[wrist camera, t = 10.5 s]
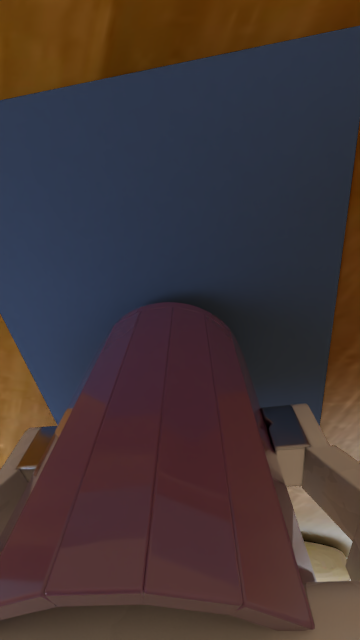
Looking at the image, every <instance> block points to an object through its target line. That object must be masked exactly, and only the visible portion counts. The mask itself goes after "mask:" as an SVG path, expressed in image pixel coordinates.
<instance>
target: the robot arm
mask: <svg viewBox="0 0 360 640" xmlns="http://www.w3.org/2000/svg"><path fill="white" fill-rule="evenodd" d="M261 411H262V415H263V418H264V421H265V423H266V426H267V429H268V433H269V436H270V439H271V442H272V445H273V449H274V452H275V454H276V457H277V460H278V463H279V466H280V469H281V472H282V475H283V479H284V482H285V485H286V486H302V488H303V489H304V490H305V491H306V492H307V493H308V494H309V495H310V496H311V497H312V499H313V500H314V501H315V502H316V503H317V504H318V505H319V506H320V507H321V508H322V509H323V510H324V511H325V512H326V513H327V514H328V516H329V517H330V518H331V519H332V520H333V521H334V522H335V523H336V524H337V525H338V526H339V527H340V528H341V529H342V530H343V532H344V533H345V534H346V535H347V536H348V537H349V538H350V539H351V540H352V541H353V543H352V546H351V549H350V553H349V556H348V559H347V562H346V569H347V571H348V574H349V576H350V579H351V581H329V582H307V583H306V589H307V595H308V600H309V604H310V608H311V611H312V615H313V619H314V623H315V629H313V630H310V629H309V630H306V631H276V630H273V629H270V628H267V627H264V626H261V625H258V624H255V623H252V622H249V621H246V620H243V619H239V618H236V617H233V616H230V615H224V614H216V613H208V612H200V611H192V610H184V609H176V608H168V607H160V606H152V605H144V604H140V605H103V606H67V607H55V608H50V609H46V610H42V611H37V612H33V613H29V614H24V615H20V616H16V617H11V618H7V619H3V620H0V640H360V463H359V462H358V461H357V460H355V459H354V458H352V457H351V456H350V455H348V454H347V453H345V452H344V451H342V450H341V449H340V448H338V447H337V446H330V444H329V442H328V441H327V439H326V437H325V435H324V433H323V431H322V430H321V428H320V426H319V424H318V422H317V420H316V419H315V417H314V415H313V413H312V411H311V410H310V408H309V406H308V405H307V404H306V403H304V404H294V405H282V406H273V407H263V408H261ZM57 427H58V426H50V427H37V428H29V429H28V430H27V431H25V433H24V434H23V436H22V437H21V439H20V440H19V442H18V443H17V445H16V447H15V448H14V450H13V451H12V453H11V454H10V456H9V457H8V459H7V460H6V462H5V464H4V465H3V467H2V468H1V470H0V536H1V534H2V532H3V530H4V528H5V526H6V524H7V522H8V520H9V519H10V517H11V515H12V513H13V511H14V509H15V507H16V505H17V503H18V501H19V499H20V497H21V496H22V494H23V492H24V490H25V488H26V486H27V484H28V482H29V480H30V478H31V476H32V475H33V473H34V471H35V469H36V467H37V465H38V463H39V461H40V459H41V457H42V455H43V453H44V452H45V450H46V448H47V446H48V444H49V442H50V440H51V438H52V436H53V434H54V432H55V430H56V429H57Z"/></svg>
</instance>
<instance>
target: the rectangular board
mask: <svg viewBox="0 0 360 640" xmlns="http://www.w3.org/2000/svg"><path fill="white" fill-rule="evenodd" d="M359 122H360V26H355V27H351V28H346V29H341V30H336V31H331V32H327V33H322V34H317V35H312V36H307V37H303V38H298V39H293V40H288V41H283V42H279V43H274V44H269V45H264V46H259V47H255V48H250V49H245V50H240V51H235V52H231V53H226V54H221V55H216V56H211V57H207V58H202V59H197V60H192V61H187V62H183V63H178V64H173V65H168V66H163V67H159V68H154V69H149V70H144V71H139V72H135V73H130V74H125V75H120V76H115V77H111V78H106V79H101V80H96V81H91V82H87V83H82V84H77V85H72V86H67V87H63V88H58V89H53V90H48V91H43V92H39V93H34V94H29V95H24V96H19V97H15V98H10V99H5V100H0V314H1V316H2V318H3V320H4V322H5V323H6V325H7V327H8V329H9V331H10V333H11V335H12V337H13V339H14V341H15V343H16V345H17V347H18V349H19V351H20V353H21V355H22V357H23V359H24V360H25V362H26V364H27V366H28V368H29V370H30V372H31V374H32V376H33V378H34V380H35V382H36V384H37V386H38V388H39V390H40V392H41V394H42V396H43V397H44V399H45V401H46V403H47V405H48V407H49V409H50V411H51V413H52V415H53V417H54V419H55V421H56V423H57V425H59V423H60V421H61V419H62V417H63V415H64V413H65V411H66V409H67V408H68V406H69V404H70V402H71V400H72V398H73V396H74V394H75V392H76V390H77V388H78V386H79V385H80V383H81V381H82V379H83V377H84V375H85V373H86V371H87V369H88V367H89V365H90V364H91V362H92V360H93V358H94V356H95V354H96V352H97V350H98V348H99V346H100V345H101V343H102V342H103V341H104V339H105V337H106V335H107V334H108V332H109V330H110V329H111V328H112V327H113V325H114V324H115V323H116V322H117V321H118V320H119V319H121V318H122V317H123V316H125V315H126V314H128V313H129V312H131V311H133V310H135V309H137V308H140V307H143V306H146V305H149V304H155V303H163V302H176V303H184V304H189V305H193V306H196V307H199V308H201V309H204V310H206V311H208V312H210V313H211V314H213V315H215V316H216V317H218V318H219V319H220V320H221V321H222V322H224V323H225V324H226V325H227V327H228V328H229V329H230V330H231V331H232V333H233V334H234V336H235V338H236V340H237V342H238V344H239V347H240V349H241V351H242V353H243V355H244V358H245V361H246V364H247V368H248V371H249V374H250V377H251V380H252V383H253V386H254V389H255V392H256V395H257V398H258V401H259V405H260V408H263V407H273V406H282V405H294V404H304V403H306V404H307V405H308V406H309V408H310V410H311V411H312V413H313V415H314V417H315V419H316V420H317V422H318V424H319V426H320V419H321V411H322V403H323V396H324V388H325V381H326V373H327V365H328V358H329V350H330V342H331V335H332V327H333V320H334V312H335V304H336V297H337V289H338V282H339V274H340V266H341V259H342V251H343V243H344V236H345V228H346V221H347V213H348V205H349V198H350V190H351V183H352V175H353V167H354V160H355V152H356V144H357V137H358V129H359Z"/></svg>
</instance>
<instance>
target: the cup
mask: <svg viewBox="0 0 360 640" xmlns="http://www.w3.org/2000/svg"><path fill="white" fill-rule="evenodd" d="M307 582H317V580H316V577H315V574H314V571H313V568H312V565H311V562H310V559H309V556H308V553H307V550H306V546H305V543H304V540H303V537H302V534H301V531H300V528H299V525H298V522H297V519H296V516H295V513H294V509H293V506H292V503H291V500H290V497H289V494H288V491H287V488H286V485H285V482H284V479H283V475H282V472H281V469H280V466H279V463H278V460H277V457H276V454H275V452H274V449H273V445H272V442H271V439H270V436H269V433H268V429H267V426H266V423H265V421H264V418H263V415H262V411H261V408H260V405H259V401H258V398H257V395H256V392H255V389H254V386H253V383H252V380H251V377H250V374H249V371H248V368H247V364H246V361H245V358H244V355H243V353H242V351H241V349H240V347H239V344H238V342H237V340H236V338H235V336H234V334H233V333H232V331H231V330H230V329H229V328H228V327H227V325H226V324H225V323H224V322H222V321H221V320H220V319H219V318H218V317H216V316H215V315H213V314H211V313H210V312H208V311H206V310H204V309H201V308H199V307H196V306H193V305H189V304H184V303H176V302H163V303H155V304H149V305H146V306H143V307H140V308H137V309H135V310H133V311H131V312H129V313H128V314H126V315H125V316H123V317H122V318H121V319H119V320H118V321H117V322H116V323H115V324H114V325H113V327H112V328H111V329H110V330H109V332H108V334H107V335H106V337H105V339H104V341H103V342H102V343H101V345H100V346H99V348H98V350H97V352H96V354H95V356H94V358H93V360H92V362H91V364H90V365H89V367H88V369H87V371H86V373H85V375H84V377H83V379H82V381H81V383H80V385H79V386H78V388H77V390H76V392H75V394H74V396H73V398H72V400H71V402H70V404H69V406H68V408H67V409H66V411H65V413H64V415H63V417H62V419H61V421H60V423H59V425H58V427H57V429H56V430H55V432H54V434H53V436H52V438H51V440H50V442H49V444H48V446H47V448H46V450H45V452H44V453H43V455H42V457H41V459H40V461H39V463H38V465H37V467H36V469H35V471H34V473H33V475H32V476H31V478H30V480H29V482H28V484H27V486H26V488H25V490H24V492H23V494H22V496H21V497H20V499H19V501H18V503H17V505H16V507H15V509H14V511H13V513H12V515H11V517H10V519H9V520H8V522H7V524H6V526H5V528H4V530H3V532H2V534H1V536H0V620H3V619H7V618H11V617H16V616H20V615H24V614H29V613H33V612H37V611H42V610H46V609H50V608H55V607H67V606H103V605H140V604H144V605H152V606H160V607H168V608H176V609H184V610H192V611H200V612H208V613H216V614H224V615H230V616H233V617H236V618H239V619H243V620H246V621H249V622H252V623H255V624H258V625H261V626H264V627H267V628H270V629H273V630H276V631H306V630H309V629H310V630H313V629H315V623H314V619H313V615H312V611H311V608H310V604H309V600H308V595H307V589H306V583H307Z"/></svg>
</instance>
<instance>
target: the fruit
mask: <svg viewBox="0 0 360 640" xmlns="http://www.w3.org/2000/svg"><path fill="white" fill-rule="evenodd" d="M304 543H305V546H306V550H307V553H308V556H309V559H310V562H311V565H312V568H313V571H314V574H315V577H316V580H317V582H329V581H349V580H350V576H349V574H348V571H347V569H346V562H347V559H346V557H345V555H344V554H343V552H341V551H340V550H338V549H335V548H333V547H329V546H325V545H322V544H317V543H311V542H306V541H304Z"/></svg>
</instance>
